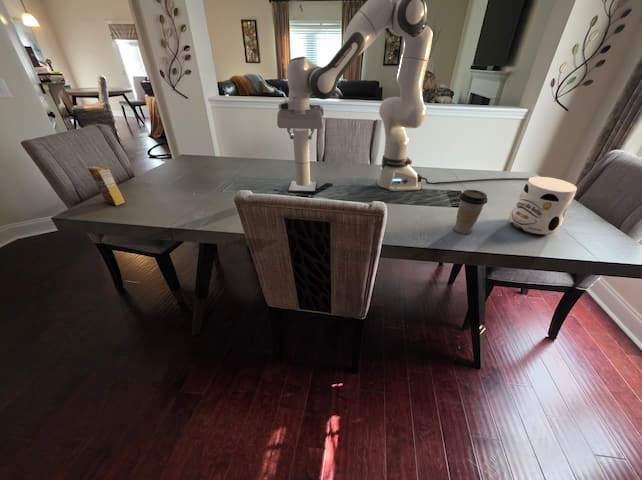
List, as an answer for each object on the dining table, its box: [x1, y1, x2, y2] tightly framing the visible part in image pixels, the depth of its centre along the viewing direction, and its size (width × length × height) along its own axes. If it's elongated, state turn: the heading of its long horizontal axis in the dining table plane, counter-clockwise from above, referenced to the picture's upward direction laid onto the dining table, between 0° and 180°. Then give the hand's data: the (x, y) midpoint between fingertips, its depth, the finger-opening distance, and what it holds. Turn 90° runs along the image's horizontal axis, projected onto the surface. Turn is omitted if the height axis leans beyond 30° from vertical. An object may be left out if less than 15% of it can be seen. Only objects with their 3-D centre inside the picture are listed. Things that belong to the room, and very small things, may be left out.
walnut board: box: [287, 180, 318, 194], centre depth 142 cm, size 13×13×1 cm
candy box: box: [87, 165, 126, 206], centre depth 122 cm, size 9×4×15 cm, turn 60°
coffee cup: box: [454, 189, 489, 235], centre depth 106 cm, size 9×9×15 cm
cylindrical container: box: [292, 128, 311, 186], centre depth 134 cm, size 7×7×25 cm
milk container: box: [508, 176, 578, 236], centre depth 107 cm, size 17×17×18 cm
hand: (301, 139), depth 129 cm, fingers closed on cylindrical container, 7 cm apart
